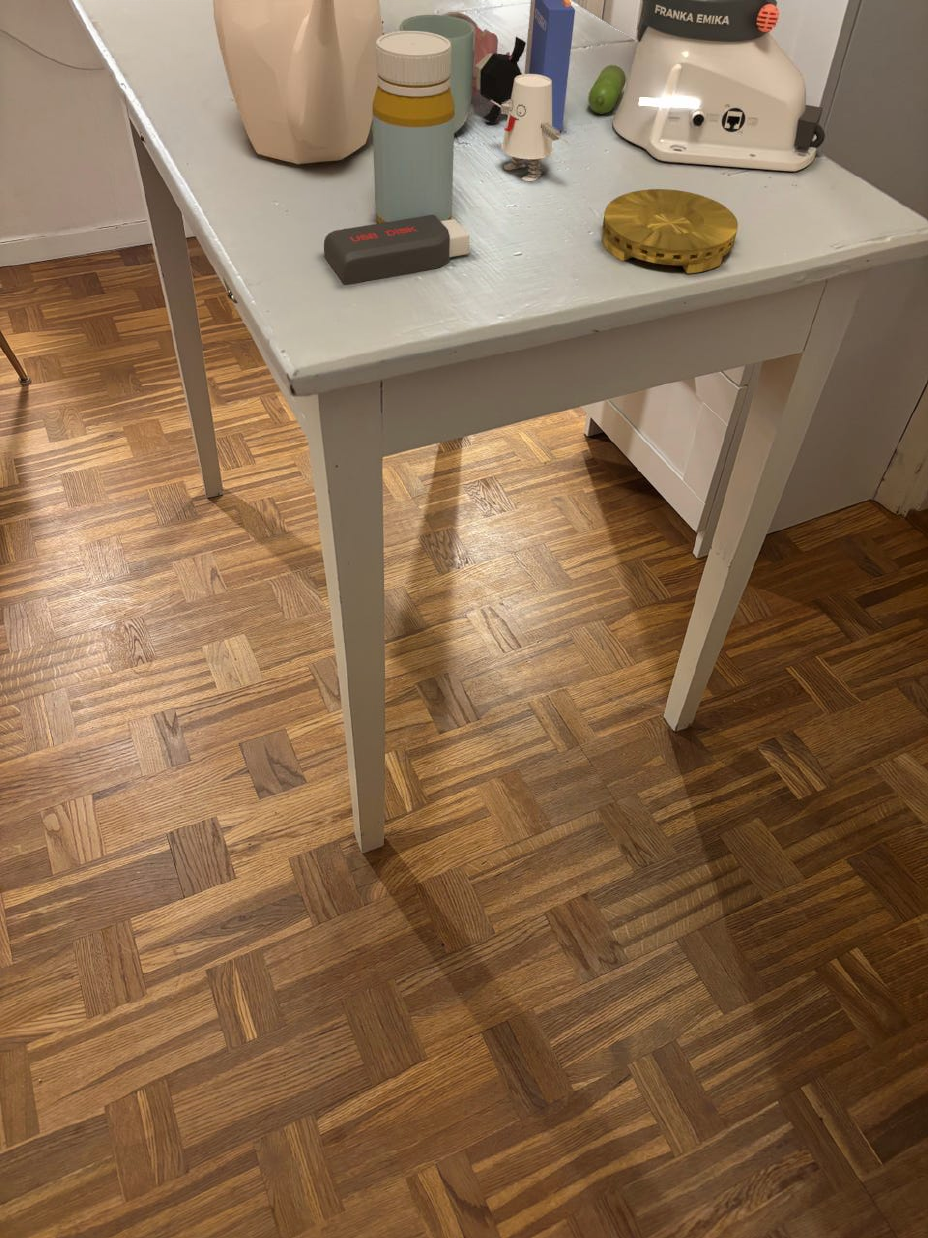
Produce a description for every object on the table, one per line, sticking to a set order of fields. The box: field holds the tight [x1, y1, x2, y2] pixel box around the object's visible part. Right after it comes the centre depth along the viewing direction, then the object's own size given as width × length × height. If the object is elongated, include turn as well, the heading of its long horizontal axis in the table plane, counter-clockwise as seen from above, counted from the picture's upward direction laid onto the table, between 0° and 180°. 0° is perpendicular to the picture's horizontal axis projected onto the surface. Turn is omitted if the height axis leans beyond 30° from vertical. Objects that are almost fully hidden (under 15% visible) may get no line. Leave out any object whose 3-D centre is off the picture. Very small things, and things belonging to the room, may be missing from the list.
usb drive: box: [323, 215, 470, 285], centre depth 82 cm, size 5×12×3 cm, turn 114°
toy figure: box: [491, 73, 572, 182], centre depth 94 cm, size 12×6×8 cm, turn 36°
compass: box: [602, 188, 739, 274], centre depth 87 cm, size 12×12×2 cm
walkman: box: [524, 0, 576, 131], centre depth 102 cm, size 8×3×12 cm, turn 11°
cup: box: [398, 14, 475, 134], centre depth 100 cm, size 8×8×10 cm
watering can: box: [212, 0, 384, 165], centre depth 91 cm, size 16×27×19 cm, turn 19°
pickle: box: [587, 64, 627, 115], centre depth 109 cm, size 10×3×3 cm, turn 163°
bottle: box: [372, 30, 455, 224], centre depth 82 cm, size 7×7×15 cm
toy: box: [443, 11, 527, 124], centre depth 106 cm, size 8×7×15 cm
